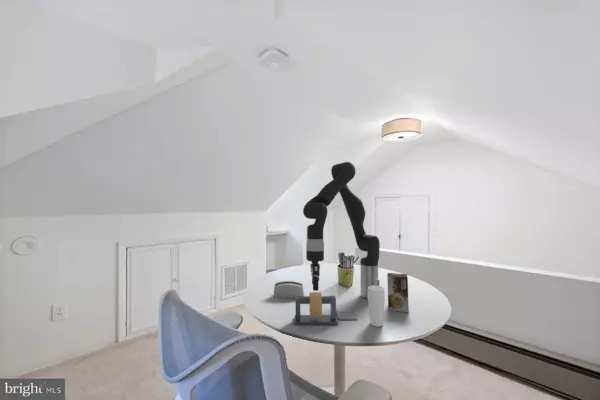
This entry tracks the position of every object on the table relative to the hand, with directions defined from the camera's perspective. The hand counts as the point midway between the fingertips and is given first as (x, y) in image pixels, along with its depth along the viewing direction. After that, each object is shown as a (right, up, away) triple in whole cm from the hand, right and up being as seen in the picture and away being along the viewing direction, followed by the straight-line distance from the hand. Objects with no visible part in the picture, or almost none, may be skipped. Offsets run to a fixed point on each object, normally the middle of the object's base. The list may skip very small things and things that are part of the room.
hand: (315, 287), depth 110 cm
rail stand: (0, -14, 0) cm, 14 cm away
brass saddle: (0, -11, 0) cm, 11 cm away
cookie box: (+40, -15, +13) cm, 45 cm away
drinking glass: (+25, -15, -3) cm, 29 cm away
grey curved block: (-13, -16, +29) cm, 36 cm away
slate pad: (+14, -15, +5) cm, 21 cm away
